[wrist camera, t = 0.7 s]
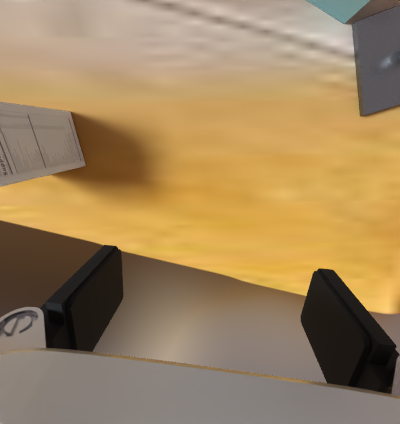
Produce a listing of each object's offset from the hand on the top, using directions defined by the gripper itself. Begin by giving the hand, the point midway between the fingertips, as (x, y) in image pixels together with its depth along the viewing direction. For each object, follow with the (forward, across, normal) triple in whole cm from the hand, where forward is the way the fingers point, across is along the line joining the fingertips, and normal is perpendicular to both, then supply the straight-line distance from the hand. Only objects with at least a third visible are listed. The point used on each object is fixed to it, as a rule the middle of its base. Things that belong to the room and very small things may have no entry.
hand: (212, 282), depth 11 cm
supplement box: (+30, +29, -3) cm, 42 cm away
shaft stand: (+30, -24, -19) cm, 42 cm away
